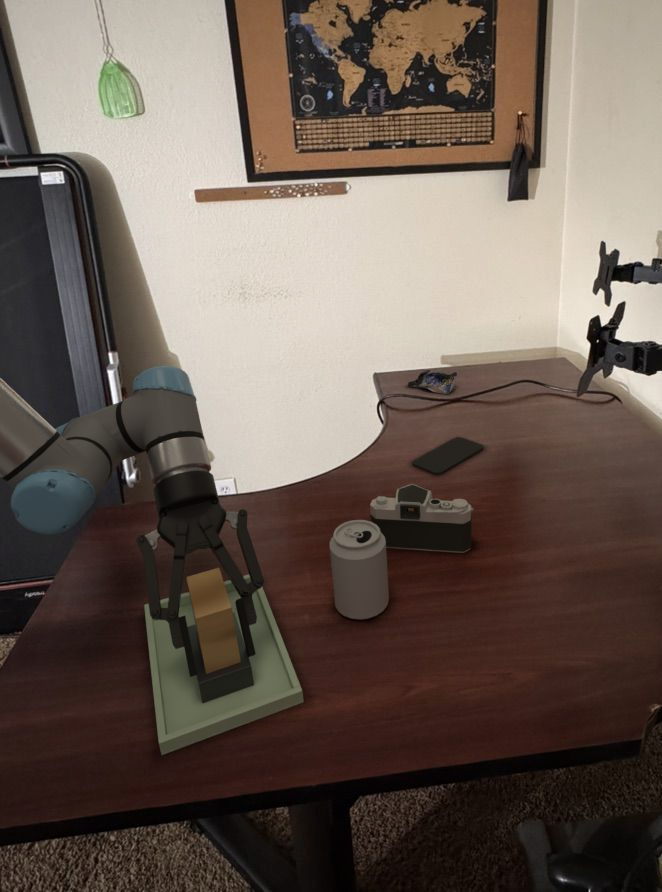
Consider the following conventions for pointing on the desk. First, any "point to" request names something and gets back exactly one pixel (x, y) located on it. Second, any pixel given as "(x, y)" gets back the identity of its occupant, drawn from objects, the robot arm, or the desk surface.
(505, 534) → the desk surface
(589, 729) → the desk surface
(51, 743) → the desk surface
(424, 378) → the snack package
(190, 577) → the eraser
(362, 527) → the can
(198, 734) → the tray
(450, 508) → the camera
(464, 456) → the phone
